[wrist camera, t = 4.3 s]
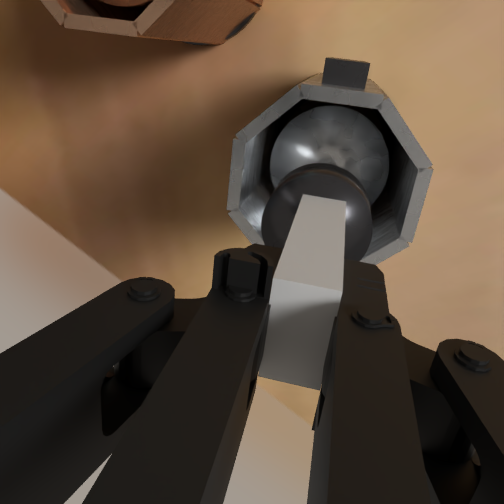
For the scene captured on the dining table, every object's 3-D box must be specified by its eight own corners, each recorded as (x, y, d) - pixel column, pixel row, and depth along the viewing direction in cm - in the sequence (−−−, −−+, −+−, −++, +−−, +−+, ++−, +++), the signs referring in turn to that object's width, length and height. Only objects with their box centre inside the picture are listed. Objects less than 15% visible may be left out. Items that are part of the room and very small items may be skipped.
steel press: (264, 189, 36) (218, 262, 23) (282, 50, 31) (237, 47, 19) (382, 209, 35) (400, 297, 22) (417, 67, 30) (466, 75, 18)
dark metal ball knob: (265, 209, 27) (219, 290, 18) (279, 97, 25) (235, 123, 15) (373, 228, 26) (386, 324, 17) (401, 114, 24) (435, 153, 14)
